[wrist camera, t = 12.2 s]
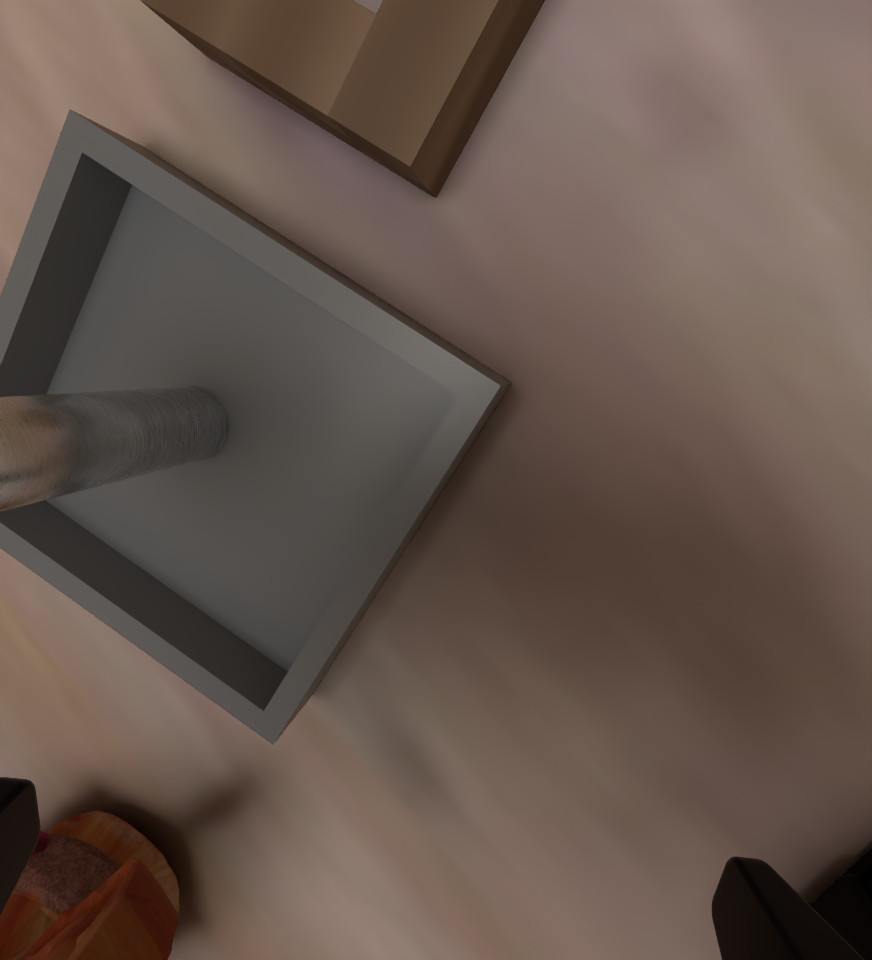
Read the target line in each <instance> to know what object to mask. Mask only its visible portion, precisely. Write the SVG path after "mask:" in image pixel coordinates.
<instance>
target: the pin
mask: <svg viewBox="0 0 872 960" xmlns="http://www.w3.org/2000/svg"><path fill="white" fill-rule="evenodd" d="M228 432H229V421H228V416H227V413H226V410H225V408H224V406H223V404H222V403H221V401H220V400H219V399H218V398H217V397H216V396H215V395H214V394H213V393H211V392H210V391H208V390H206V389H204V388H201V387H195V386H189V387H171V388H153V389H135V390H117V391H99V392H81V393H63V394H45V395H27V396H9V397H0V512H1V511H5V510H9V509H13V508H17V507H20V506H24V505H28V504H32V503H36V502H40V501H44V500H48V499H52V498H56V497H59V496H63V495H67V494H71V493H75V492H79V491H83V490H87V489H91V488H95V487H99V486H102V485H106V484H110V483H114V482H118V481H122V480H126V479H130V478H134V477H138V476H141V475H145V474H149V473H153V472H157V471H161V470H165V469H169V468H173V467H177V466H181V465H184V464H188V463H192V462H196V461H200V460H204V459H208V458H210V457H212V456H214V455H216V454H217V453H218V452H219V451H220V450H221V449H222V448H223V446H224V444H225V443H226V440H227V437H228Z"/></svg>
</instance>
